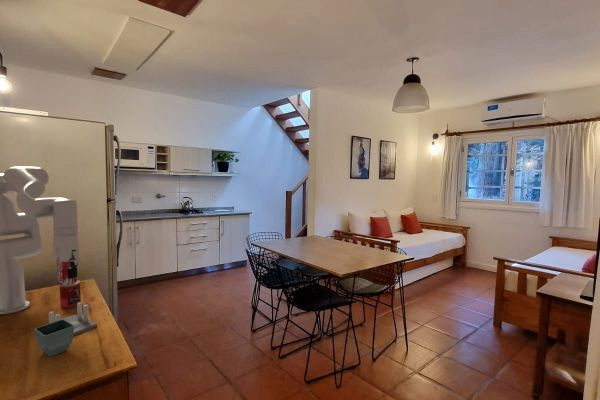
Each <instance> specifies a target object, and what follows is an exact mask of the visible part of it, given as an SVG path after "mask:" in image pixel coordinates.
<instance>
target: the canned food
mask: <svg viewBox="0 0 600 400" xmlns="http://www.w3.org/2000/svg"><path fill="white" fill-rule="evenodd" d="M81 297H82V296H81V280H79V279H77V282H76V283H75V284H73V285H69V286H60V285H59V302H60V304H59V306H60V308H61V309H65V310H66V309H67V310H68V309H74V308H77V303H80V302H81V301H82V299H81ZM81 303H82V302H81Z"/></svg>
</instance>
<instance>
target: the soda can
mask: <svg viewBox="0 0 600 400" xmlns="http://www.w3.org/2000/svg"><path fill="white" fill-rule="evenodd" d="M70 260H74V259H73V258H71V259H70ZM70 263H71V264H72V262H70ZM67 269H69V268H68V264H67V262H62V261H61V260H60V258H59V257H58V258H57V261H56V274H57V279H56V280H57V285H58V286H59V287H60V286H69V285H73V284H75V283H76V282H77V280H78V276H77V277H76V278H72V279H68V276H67Z"/></svg>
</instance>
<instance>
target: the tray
mask: <svg viewBox="0 0 600 400" xmlns="http://www.w3.org/2000/svg"><path fill="white" fill-rule="evenodd" d="M76 308H77V309H76V310H77V313H76V314H72V315H70V316H67V317H64V318H61V314H60V313H58V314H57V313H56V314H55V311H49V312H48V323H46V324H44V325H47V324H50V323H53V322H56V321H58V320H62V319H64V320H66V321H67V322H69V323H71V324H73V325H74V333H73V337H74V336H76V335H77V336H78V335H79V334H82V333H84V332H86V331H90V330H92V329H95V328H96V327H98V323H97V322H94V321H91V320H90V319H89V305H88V304H84V305H83V303H82V302H80V303H77V307H76ZM44 325H41V326H44ZM41 326H39V327H41Z"/></svg>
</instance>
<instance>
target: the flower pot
mask: <svg viewBox="0 0 600 400" xmlns="http://www.w3.org/2000/svg"><path fill="white" fill-rule="evenodd" d="M61 319H62V320H58V321H56V322H55V321H54V322H53V323H50V324H49V323H46V324H47V325H46V324H44V326H43V325H41V327H40V326H38V327H35V328H34V330H33V331H34V335H35V339H36V343H37V345H38V347H39V349H40V350H41V351H42V352H43V353H44V354H46V356H48V357H54V356H56V355H59V354H60V353H63V352H66V351H67V350H68V349H69V348H70V346H71V345H72V343H73V339H74V336H73V333H74V325H73V324H71V323H69V322H67V321H66V320H64V319H63V318H61Z"/></svg>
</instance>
